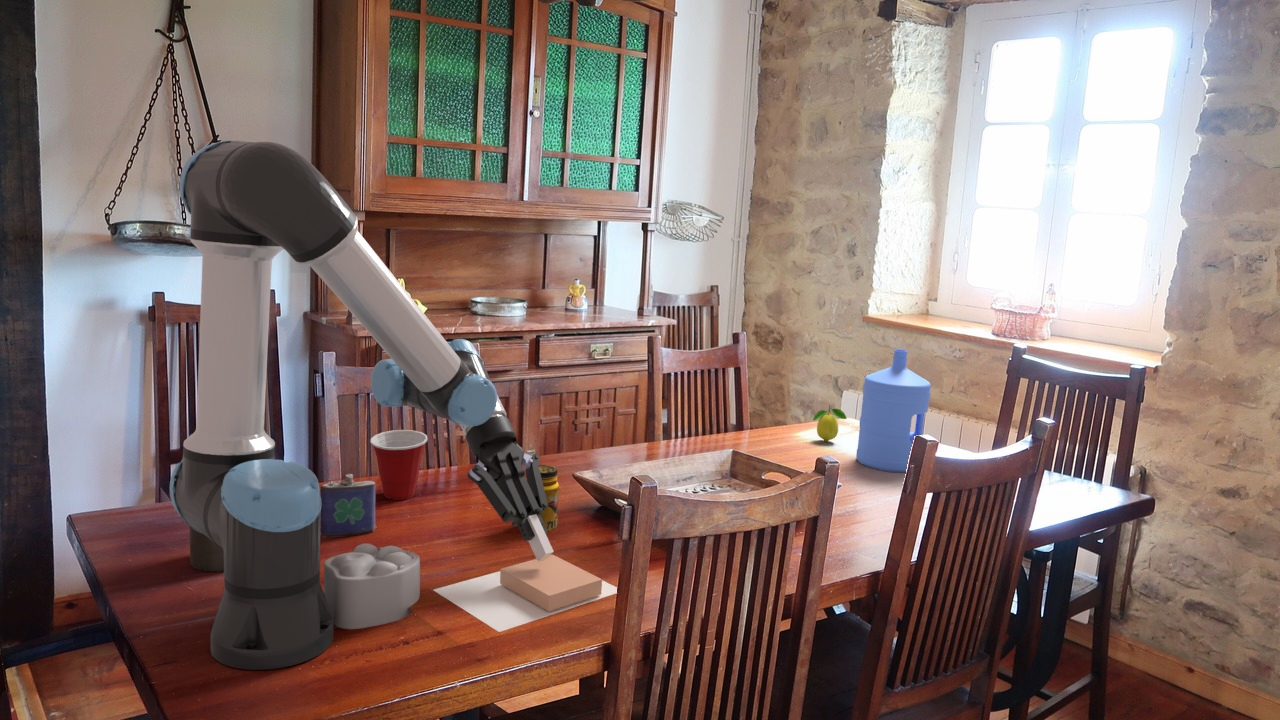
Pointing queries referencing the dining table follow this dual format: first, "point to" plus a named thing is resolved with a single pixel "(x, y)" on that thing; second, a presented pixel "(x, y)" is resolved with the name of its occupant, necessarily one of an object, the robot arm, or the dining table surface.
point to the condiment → (550, 496)
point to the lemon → (828, 423)
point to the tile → (550, 582)
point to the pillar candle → (205, 552)
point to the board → (503, 602)
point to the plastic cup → (399, 461)
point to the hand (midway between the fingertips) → (545, 556)
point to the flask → (347, 508)
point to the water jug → (891, 415)
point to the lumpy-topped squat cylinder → (371, 585)
